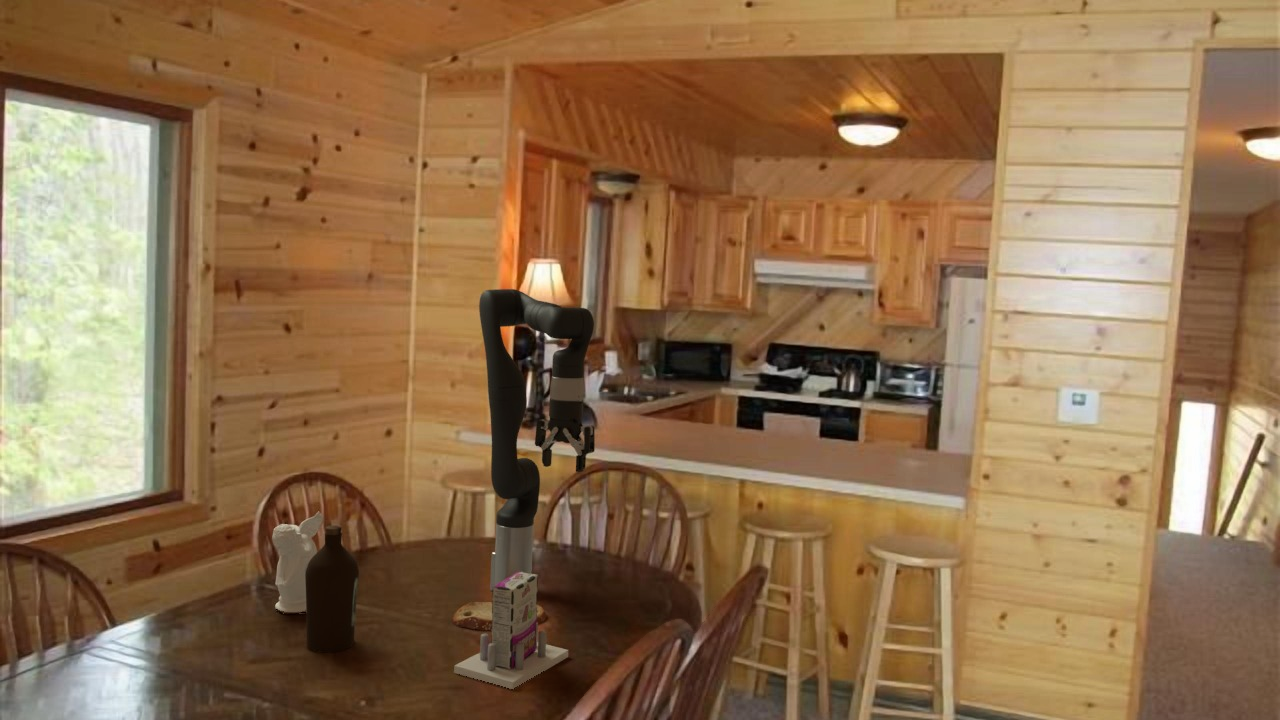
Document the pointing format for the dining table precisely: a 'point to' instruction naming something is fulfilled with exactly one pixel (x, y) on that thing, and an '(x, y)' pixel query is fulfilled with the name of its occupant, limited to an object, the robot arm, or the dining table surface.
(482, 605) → the bread slice
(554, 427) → the robot arm
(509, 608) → the candy bar box
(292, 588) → the cherub figurine
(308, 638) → the olive oil
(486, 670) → the pin tray
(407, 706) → the dining table surface
